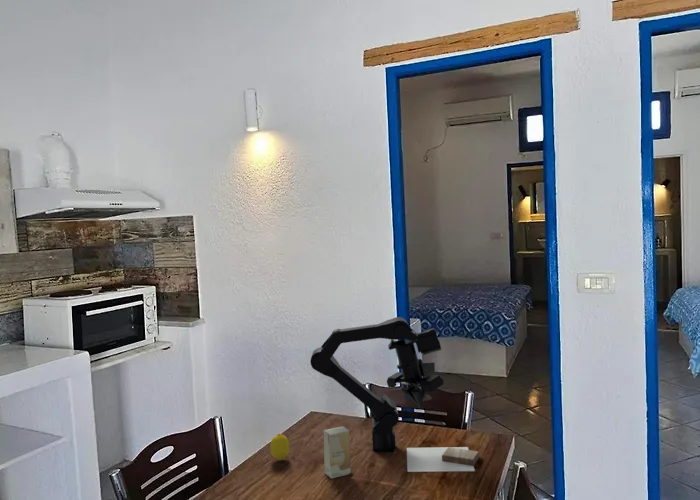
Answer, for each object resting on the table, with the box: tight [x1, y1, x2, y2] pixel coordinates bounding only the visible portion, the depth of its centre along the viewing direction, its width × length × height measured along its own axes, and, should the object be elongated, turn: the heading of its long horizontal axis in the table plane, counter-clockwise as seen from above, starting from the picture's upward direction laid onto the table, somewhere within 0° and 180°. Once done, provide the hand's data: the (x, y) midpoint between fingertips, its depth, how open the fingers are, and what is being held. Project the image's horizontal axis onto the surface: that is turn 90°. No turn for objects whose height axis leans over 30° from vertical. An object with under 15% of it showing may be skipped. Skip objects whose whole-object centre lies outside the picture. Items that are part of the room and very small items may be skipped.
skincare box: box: [323, 425, 352, 479], centre depth 156 cm, size 6×4×12 cm
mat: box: [406, 446, 476, 473], centre depth 162 cm, size 18×16×1 cm
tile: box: [442, 446, 480, 467], centre depth 161 cm, size 2×6×9 cm
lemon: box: [270, 433, 290, 462], centre depth 167 cm, size 6×6×8 cm
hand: (421, 408), depth 171 cm, fingers closed
